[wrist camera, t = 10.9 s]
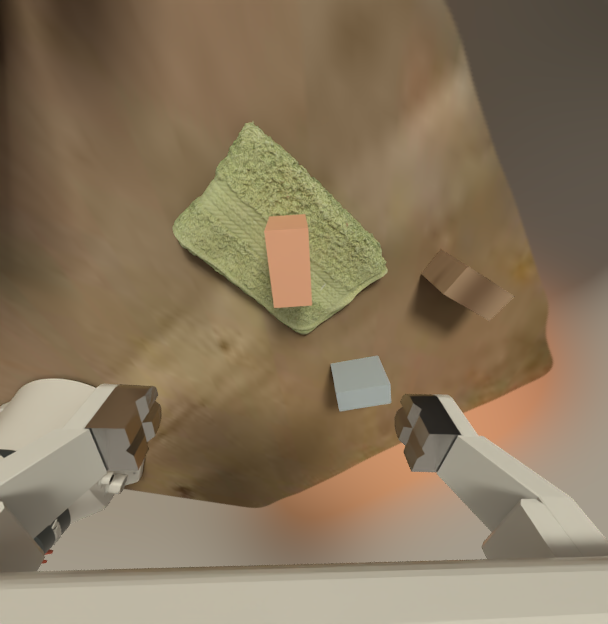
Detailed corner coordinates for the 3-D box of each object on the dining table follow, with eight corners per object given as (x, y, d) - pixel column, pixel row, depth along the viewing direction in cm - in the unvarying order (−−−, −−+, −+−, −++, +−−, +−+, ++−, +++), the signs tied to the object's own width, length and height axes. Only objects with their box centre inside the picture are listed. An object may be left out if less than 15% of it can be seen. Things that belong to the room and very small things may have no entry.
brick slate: (377, 355, 34) (390, 384, 30) (379, 373, 36) (391, 403, 31) (330, 363, 34) (335, 393, 30) (333, 380, 36) (339, 411, 32)
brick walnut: (481, 275, 29) (514, 296, 25) (461, 297, 30) (489, 321, 26) (440, 249, 28) (468, 266, 23) (420, 273, 29) (443, 294, 25)
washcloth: (304, 333, 33) (305, 350, 30) (171, 230, 26) (157, 239, 23) (392, 255, 28) (403, 266, 25) (258, 108, 22) (253, 101, 19)
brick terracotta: (308, 280, 26) (312, 305, 22) (277, 282, 26) (274, 308, 21) (305, 214, 23) (308, 227, 18) (269, 216, 23) (264, 230, 18)
